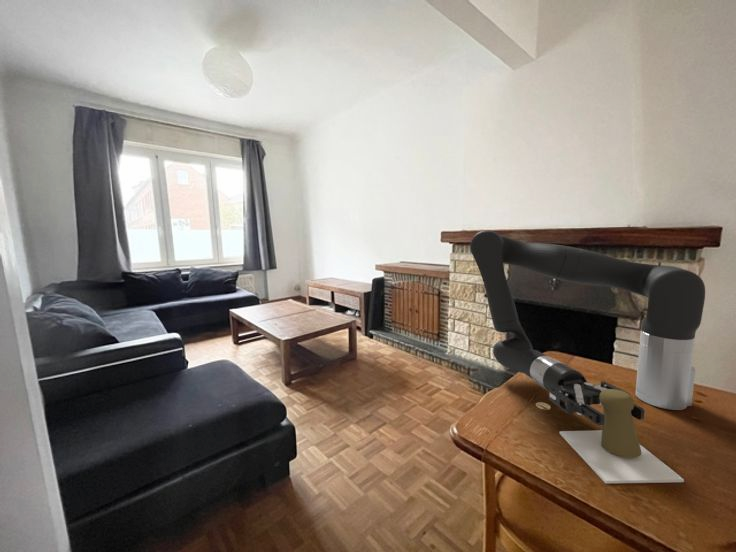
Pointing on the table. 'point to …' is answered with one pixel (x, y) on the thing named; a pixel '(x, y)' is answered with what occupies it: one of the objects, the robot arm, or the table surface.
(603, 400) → the cork
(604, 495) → the table surface
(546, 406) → the brass coin
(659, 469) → the white mat
